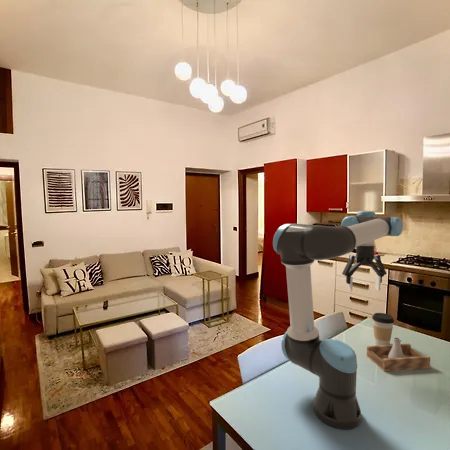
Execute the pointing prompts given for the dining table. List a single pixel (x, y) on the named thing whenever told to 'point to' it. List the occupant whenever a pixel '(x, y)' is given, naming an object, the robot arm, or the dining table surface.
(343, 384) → the robot arm
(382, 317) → the coffee cup
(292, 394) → the dining table surface
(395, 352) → the flask
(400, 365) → the wooden tray
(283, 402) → the dining table surface
